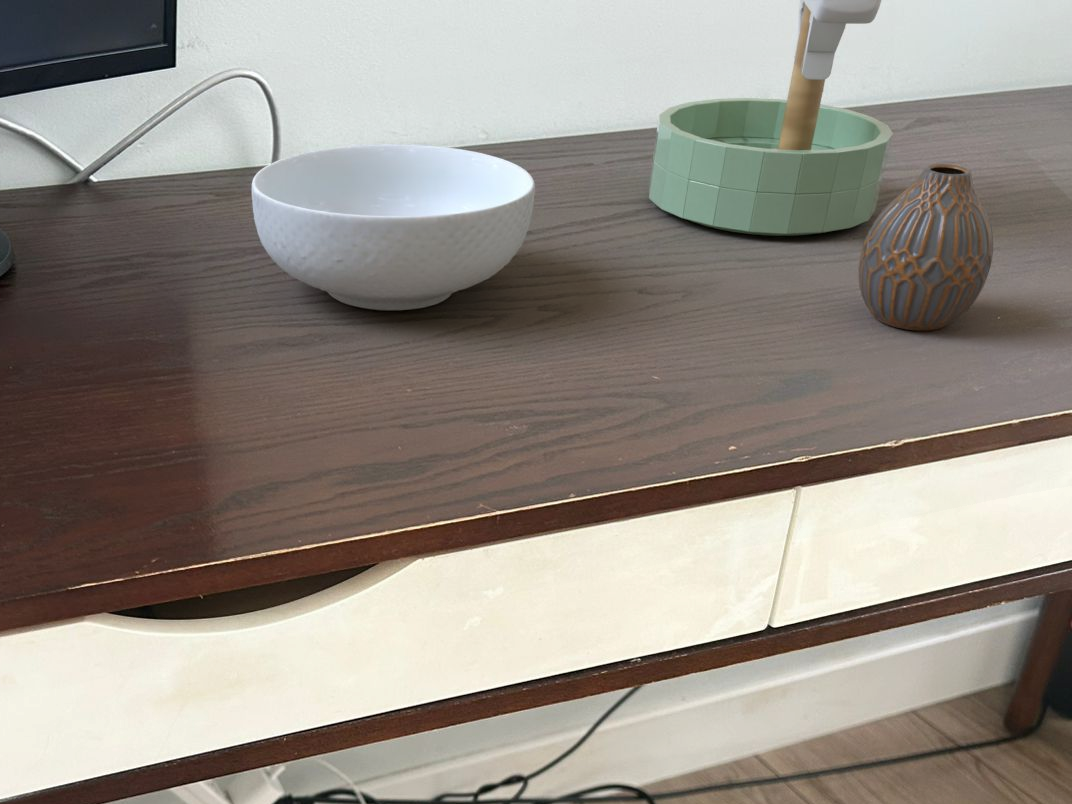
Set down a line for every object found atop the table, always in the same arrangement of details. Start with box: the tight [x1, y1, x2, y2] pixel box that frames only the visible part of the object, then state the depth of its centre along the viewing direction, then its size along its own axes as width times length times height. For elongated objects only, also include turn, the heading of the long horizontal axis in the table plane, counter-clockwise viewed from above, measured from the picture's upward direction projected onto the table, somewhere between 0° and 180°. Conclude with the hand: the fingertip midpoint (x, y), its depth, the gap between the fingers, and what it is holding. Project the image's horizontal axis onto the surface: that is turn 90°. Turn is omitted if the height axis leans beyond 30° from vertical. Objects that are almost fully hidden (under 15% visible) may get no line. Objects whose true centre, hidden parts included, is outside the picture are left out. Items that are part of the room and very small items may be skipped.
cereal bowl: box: [251, 143, 536, 311], centre depth 84 cm, size 17×17×7 cm
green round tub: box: [648, 97, 894, 237], centre depth 98 cm, size 16×16×6 cm
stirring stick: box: [773, 4, 826, 150], centre depth 93 cm, size 4×4×16 cm
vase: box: [858, 163, 994, 332], centre depth 79 cm, size 7×7×9 cm
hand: (810, 71), depth 93 cm, fingers closed on stirring stick, 2 cm apart
